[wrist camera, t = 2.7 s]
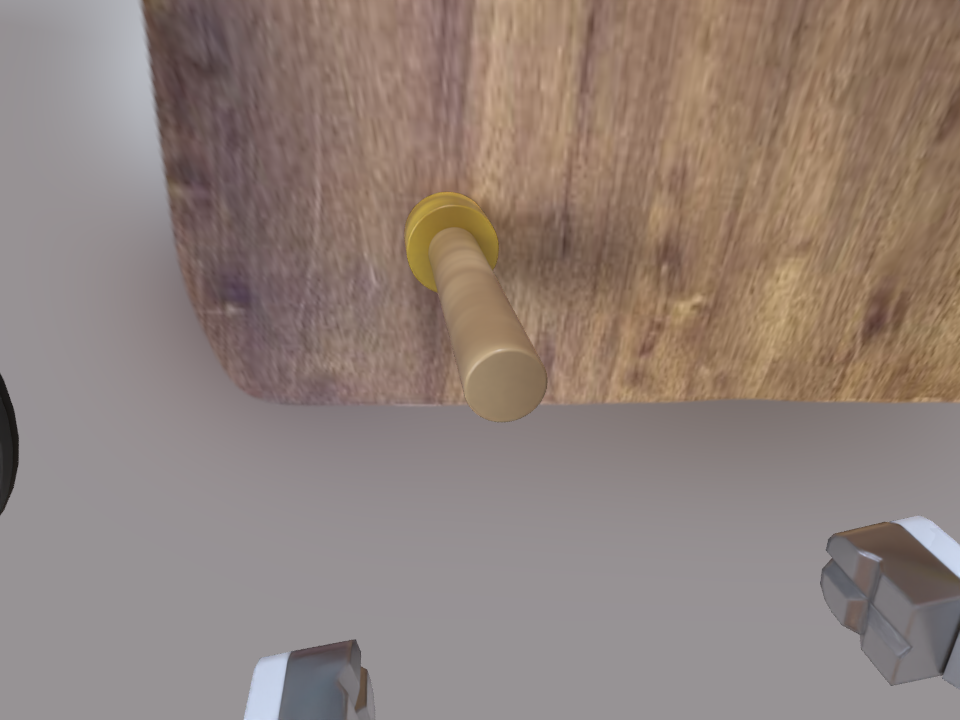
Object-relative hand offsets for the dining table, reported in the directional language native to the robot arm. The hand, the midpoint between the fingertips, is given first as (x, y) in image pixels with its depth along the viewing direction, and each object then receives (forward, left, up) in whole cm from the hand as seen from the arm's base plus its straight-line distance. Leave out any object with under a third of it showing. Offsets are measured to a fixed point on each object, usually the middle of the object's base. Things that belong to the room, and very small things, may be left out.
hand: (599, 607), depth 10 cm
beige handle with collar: (0, 0, -24) cm, 24 cm away
